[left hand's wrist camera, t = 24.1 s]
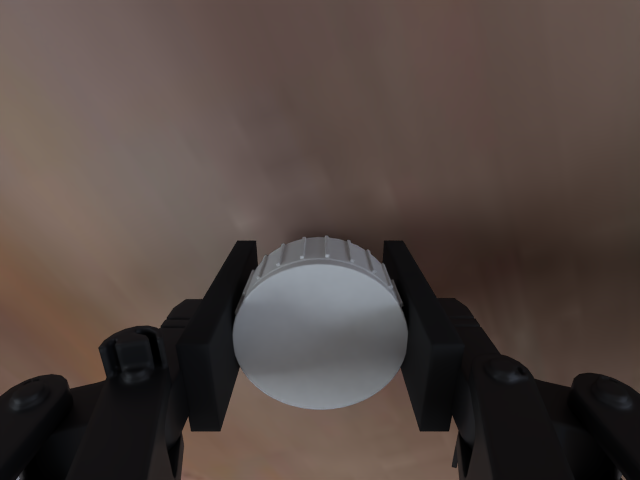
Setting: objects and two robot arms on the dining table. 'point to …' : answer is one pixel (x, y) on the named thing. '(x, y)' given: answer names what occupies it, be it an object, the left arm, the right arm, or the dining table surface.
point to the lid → (320, 324)
